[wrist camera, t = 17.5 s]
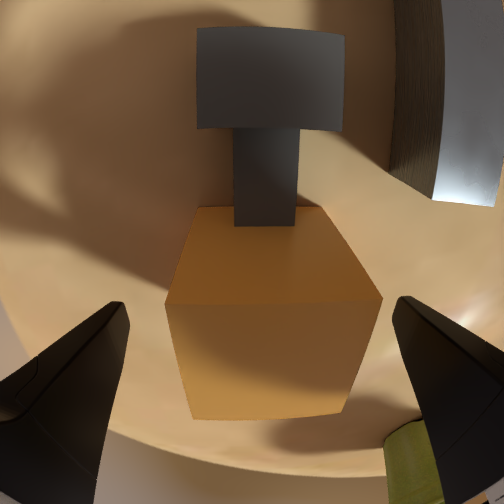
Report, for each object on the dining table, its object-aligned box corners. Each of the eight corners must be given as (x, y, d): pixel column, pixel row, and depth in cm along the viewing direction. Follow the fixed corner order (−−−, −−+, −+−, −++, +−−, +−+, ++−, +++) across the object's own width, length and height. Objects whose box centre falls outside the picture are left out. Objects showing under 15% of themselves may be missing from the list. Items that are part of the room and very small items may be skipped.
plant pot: (401, 454, 24) (420, 517, 16) (344, 453, 21) (361, 535, 14) (469, 405, 20) (500, 472, 13) (425, 396, 18) (464, 489, 10)
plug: (206, 306, 13) (193, 419, 8) (194, 50, 8) (143, -2, 3) (309, 304, 13) (340, 412, 8) (329, 54, 8) (417, 18, 3)
